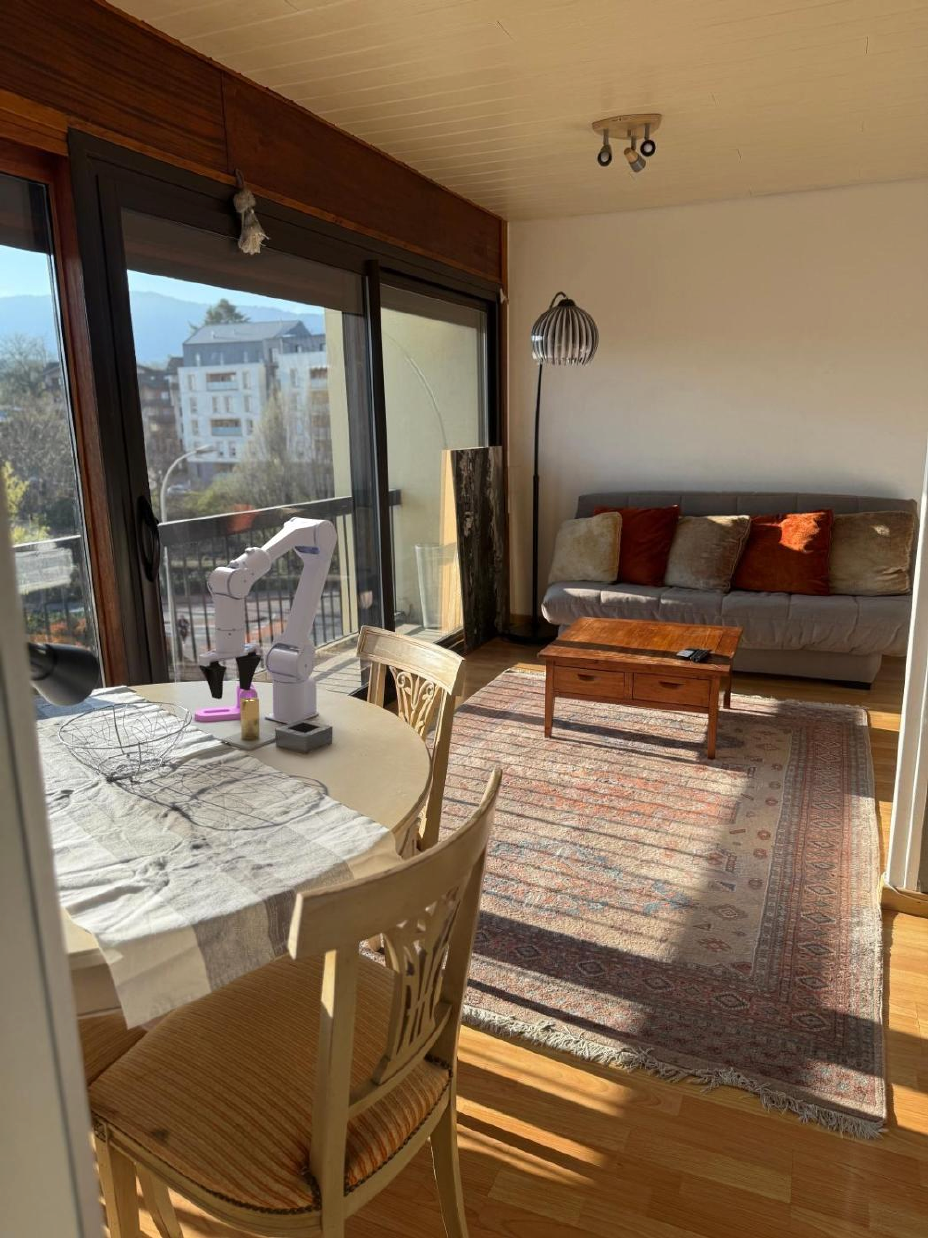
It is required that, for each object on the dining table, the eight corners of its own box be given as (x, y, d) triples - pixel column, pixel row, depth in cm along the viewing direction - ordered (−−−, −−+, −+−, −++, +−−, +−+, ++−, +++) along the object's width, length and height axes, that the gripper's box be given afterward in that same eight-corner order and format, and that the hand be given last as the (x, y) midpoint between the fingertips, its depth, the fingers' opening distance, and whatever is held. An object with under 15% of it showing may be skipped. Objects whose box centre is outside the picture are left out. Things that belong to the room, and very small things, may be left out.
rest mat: (250, 731, 182) (250, 728, 181) (278, 739, 177) (278, 736, 177) (220, 742, 175) (220, 739, 175) (249, 750, 171) (249, 747, 171)
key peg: (249, 734, 178) (248, 696, 177) (263, 737, 177) (262, 699, 175) (237, 739, 175) (236, 700, 174) (251, 742, 174) (250, 703, 172)
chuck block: (302, 735, 181) (302, 718, 180) (332, 742, 177) (332, 726, 176) (275, 745, 174) (275, 728, 173) (305, 754, 170) (305, 737, 169)
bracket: (254, 710, 196) (253, 680, 195) (257, 718, 191) (257, 687, 190) (193, 715, 191) (193, 684, 190) (196, 723, 186) (195, 691, 185)
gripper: (216, 636, 165) (218, 705, 167) (270, 624, 177) (271, 689, 180) (190, 631, 168) (192, 699, 171) (245, 620, 180) (246, 683, 183)
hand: (231, 693), depth 175 cm, fingers open, 7 cm apart
